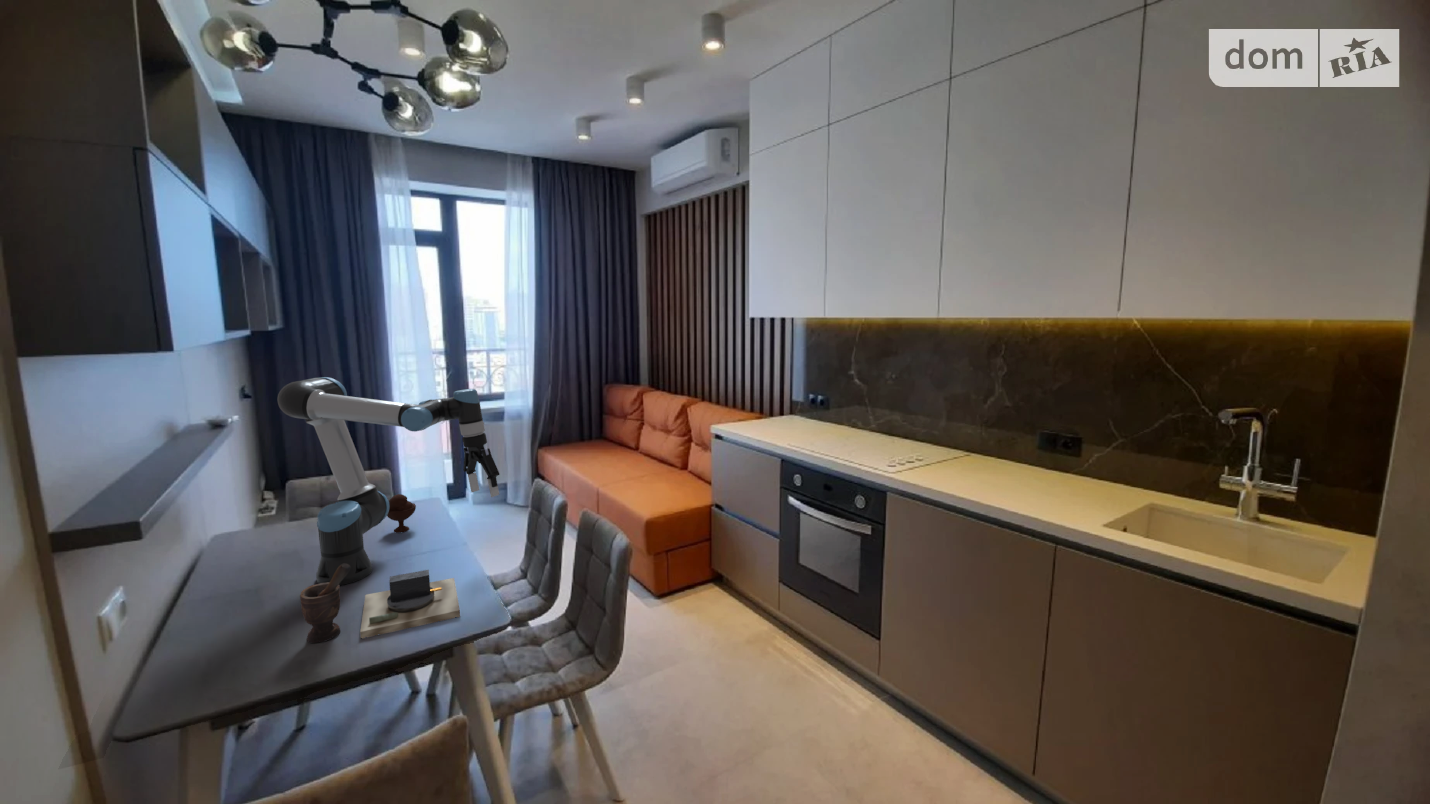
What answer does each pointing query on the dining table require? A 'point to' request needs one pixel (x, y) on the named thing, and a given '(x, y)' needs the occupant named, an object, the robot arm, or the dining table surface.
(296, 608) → the dining table surface
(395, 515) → the ice cream bowl
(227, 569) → the dining table surface
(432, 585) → the base plate
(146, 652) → the dining table surface
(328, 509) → the robot arm
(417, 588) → the dial knob
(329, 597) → the mortar and pestle
